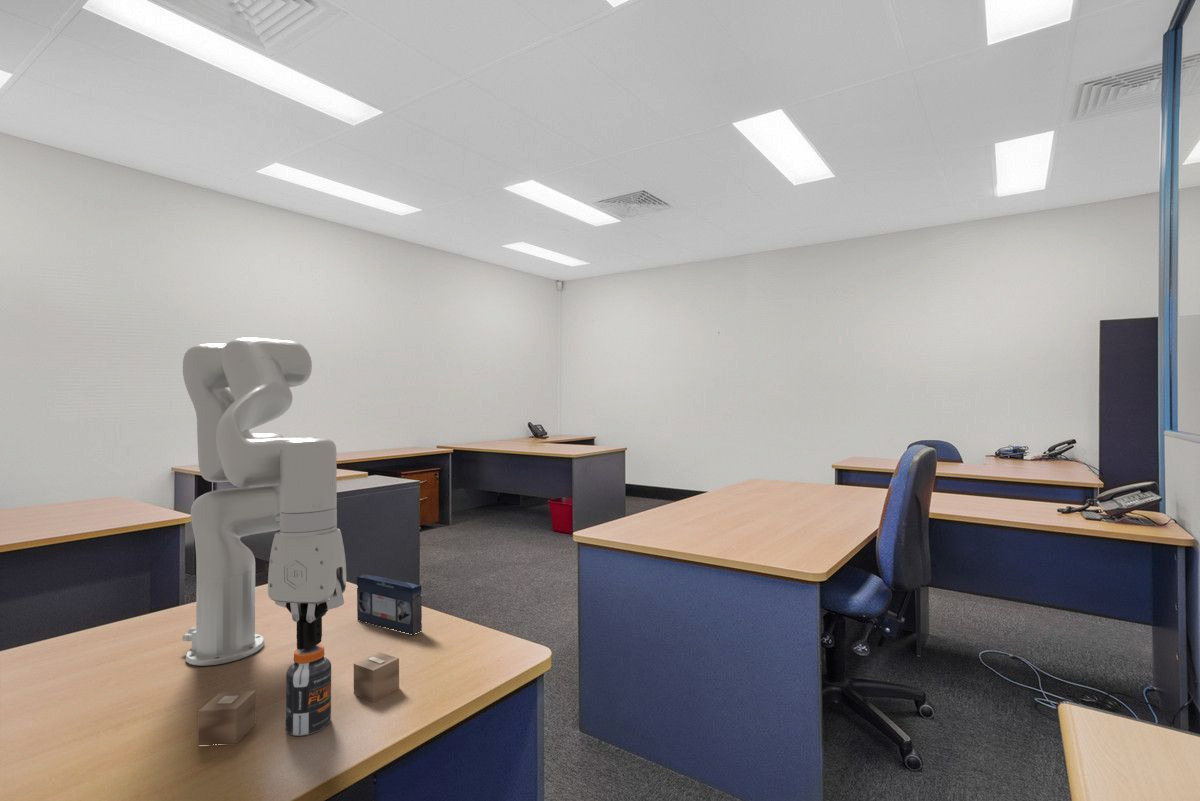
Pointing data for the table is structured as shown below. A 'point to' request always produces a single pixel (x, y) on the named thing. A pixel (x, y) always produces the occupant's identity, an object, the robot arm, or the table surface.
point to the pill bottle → (308, 692)
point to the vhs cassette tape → (389, 603)
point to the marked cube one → (226, 718)
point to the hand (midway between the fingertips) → (309, 645)
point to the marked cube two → (376, 676)
